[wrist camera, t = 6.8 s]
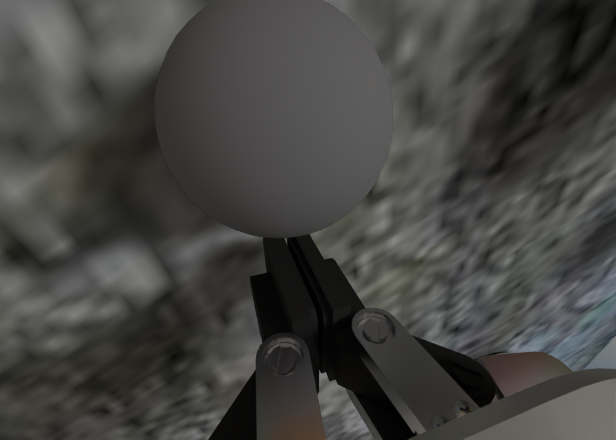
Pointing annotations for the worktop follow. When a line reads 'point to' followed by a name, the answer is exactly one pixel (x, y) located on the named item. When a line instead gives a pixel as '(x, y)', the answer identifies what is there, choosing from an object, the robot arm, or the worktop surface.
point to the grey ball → (273, 114)
